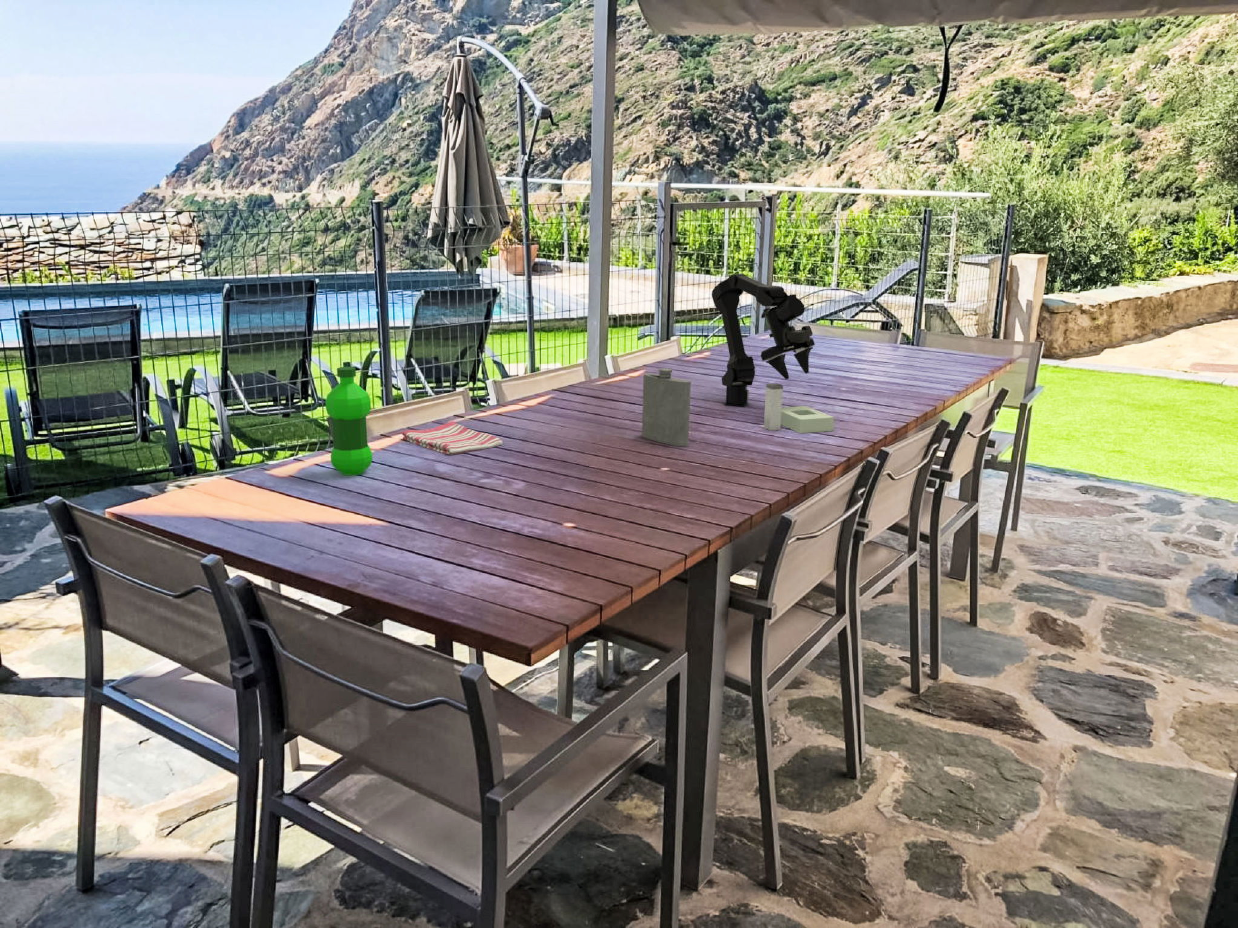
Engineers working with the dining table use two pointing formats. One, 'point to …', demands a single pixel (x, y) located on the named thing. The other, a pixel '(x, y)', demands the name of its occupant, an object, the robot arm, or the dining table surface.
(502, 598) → the dining table surface
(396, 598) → the dining table surface
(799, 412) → the post foot
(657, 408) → the hip flask
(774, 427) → the pale grey square post
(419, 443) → the dish towel
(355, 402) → the plastic bottle
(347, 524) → the dining table surface
